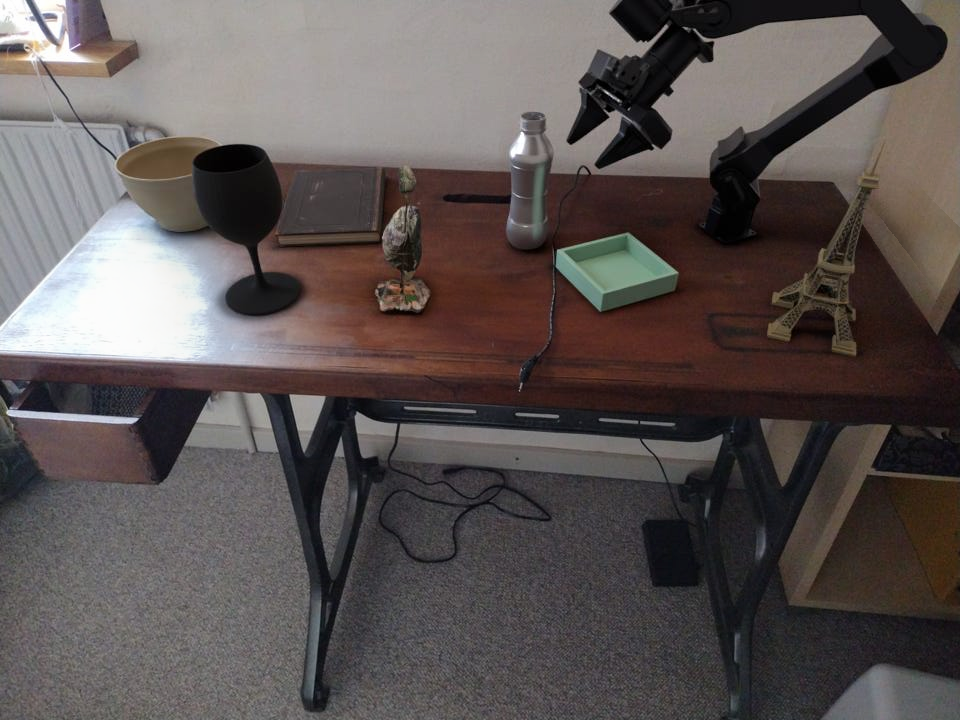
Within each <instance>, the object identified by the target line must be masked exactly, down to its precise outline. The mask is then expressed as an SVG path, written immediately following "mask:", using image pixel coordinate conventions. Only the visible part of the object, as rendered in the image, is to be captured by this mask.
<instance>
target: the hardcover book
mask: <svg viewBox="0 0 960 720" xmlns="http://www.w3.org/2000/svg"><path fill="white" fill-rule="evenodd" d="M293 172H294V173H293V176H292V179H291V181H290V186H289V187H288V188H289V189H288V192H287V194H286V199H285V202H284V205H283V207H282V210H281V214H280V218H279V220H278V222H277V227H276V230H275V232H274V236H275V237H278V242H277V248H290V247H291V248H293V247H314V246H315V247H316V246H340V245H366V244H368V245H369V244H379V243H380V242H381V240H382V231H383V230H382V229H383V216H384V201H385V188H386V170H385V168H383V167H382V166H377V167H350V168H349V167H347V168H318V169H295V170H294V171H293Z"/></svg>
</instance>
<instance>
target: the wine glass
mask: <svg viewBox="0 0 960 720" xmlns="http://www.w3.org/2000/svg"><path fill="white" fill-rule="evenodd" d="M192 185H193V192H194V197H195V201H196V204H197V207H198V210H199V212H200V214H201V216H202V217H203V219H204V220H205V222H206V223H207V225H208V226H207V227H209V228H210V229H211V230H212V231H213V232H214V233H215V234H217V235H218V236H220V237H221V238H223V239H225V240H227V241H229V242H231V243H234V244H237V245H240V246H244V247H245V248H246V250H247V252H248V255H249V257H250V260H251V264H252V267H253V272H254V273H253V274H250V275H248V276H244V277H243V278H240V279H239V280H237V281H236V282H234V283H233V284H232V285H231V286H230V287H229V288H228V289H227V291H226V293H225V298H224V299H225V300H224V301H225V303H226V306H227V307H228V308H229V309H230V310H231V311H233V312H235V313H236V314H240V315H244V316H254V317H256V316H266V315H272V314H274V313H278V312H280V311H283V310H285V309H287V308H289V307H291V306H292V305H293V304H294V303H295V302H296V301H297V300H298V299H299V297H300V296H301V293H302V286H301V283H300V282H299V280H298V279H297V278H295V276H293V275H291V274H288V273H284V272H279V271H265V272H263V270H262V266H261V261H260V257H259V244H260V243H261V242H262V241H263V240H265V239H266V238H267V237H268V236H269V235H270V234H271V233H272V232H273V230H274V229H275V228H276V226H277V225H278V223H279V220H280V217H281V214H282V211H283V191H282V187H281V183H280V179H279V176H278V173H277V171H276V169H275V167H274V164H273V162H272V160H271V159H270V157H269V155H268V153H267V151H266V150H265V149H263V148H262V147H261V146H257V145H255V144H249V143H248V144H247V143H230V144H222V146H218V147H214V148H211V149H208V150H205V151H203V152H201V153H200V154H198V155H197V156H196V157H195V158H194V159H193V162H192Z"/></svg>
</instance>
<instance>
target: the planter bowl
mask: <svg viewBox="0 0 960 720" xmlns="http://www.w3.org/2000/svg"><path fill="white" fill-rule="evenodd" d="M222 145H223V144H222V143H221V142H219V141H217V140H215V139H212V138H209V137H204V136H197V135H196V136H194V135H191V136H190V135H184V136H183V135H181V136H179V135H178V136H167V137H162V138H157V139H153V140H149V141H145V142H143V143H140V144H137V145H135V146H132V147H130V148H128V149H127V150H125V151H124V152H122V153H121V154H119V156H118V157H117V158H116V160H115V162H114V170H115V172H116V174H117V175H118V177H119V178H120V180H121V182H122V184H123V186H124V188H125V190H126V192H127V193H128V196H130V198H131V199H132V200H133V202H134V203H135V204H136V205H137V206H138V207H139V208H140V209H141V210H142V211H143V212H144V213H146V214H147V215H148V216H149V217H151V218H152V219H154V220H155V221H157V223H158V225H159V226H160V227H161V228H163V229H164V230H166V231H170V232H174V233H175V232H176V233H178V232H179V233H187V232H193V231H197V230H201V229H204V228H206V227H209V226H208V225H207V223H206V222H205V220H204V219H203V217H202V216H201V214H200V212H199V210H198V207H197V204H196V201H195V197H194V192H193V185H192V162H193V159H194V158H195V157H196V156H197V155H198V154H200V153H201V152H203V151H205V150H208V149H211V148H214V147H218V146H222Z"/></svg>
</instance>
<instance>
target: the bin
mask: <svg viewBox="0 0 960 720" xmlns="http://www.w3.org/2000/svg"><path fill="white" fill-rule="evenodd" d="M555 258H556V260H555V268H556V269H557V270H558V271H559V272H560V273H561V274H562V275H563V276H564V277H565V278H566V279H567V280H568V281H569V282H570V283H571V284H572V285H573V286H574V287H575V288H576V289H577V291H579V292H580V293H581V295H582V296H584V297H585V298H586V299H587V301H589V303H591V304H592V305H593V306H594V307H595V309H596V310H598V311H599V312H601V313H602V312H606V311H609V310H612V309H615V308H619V307H623V306H626V305H630V304H634V303H637V302H640V301H644V300H648V299H651V298H654V297H658V296H661V295H664V294H669V293H672V292H675V291H676V287H677V284H678V279H679V274H680V273H679V271H677V270H676V269H675V268H673V267H672V266H671V264H668V263H667V262H666V261H665V260H663V258H661V257H660V256H659V255H657V253H655V252H654V251H652V250H651V249H650V248H648V246H646V244H644V243H642V242H641V241H640V240H638V239H637V238H636V237H635V236H633V235H632V234H631V233H630V232H624V233H620V234H617V235H613V236H608V237H604V238H599V239H595V240H592V241H588V242H584V243H583V242H582V243H579V244H576V245H575V244H574V245H571V246H567V247H563V248H560V249H557V250H556V257H555Z"/></svg>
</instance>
